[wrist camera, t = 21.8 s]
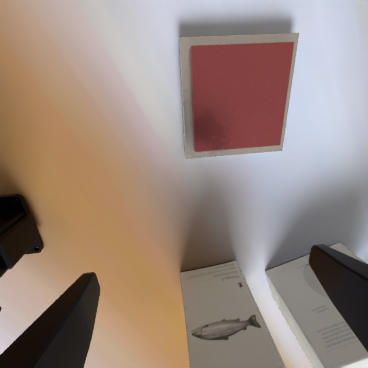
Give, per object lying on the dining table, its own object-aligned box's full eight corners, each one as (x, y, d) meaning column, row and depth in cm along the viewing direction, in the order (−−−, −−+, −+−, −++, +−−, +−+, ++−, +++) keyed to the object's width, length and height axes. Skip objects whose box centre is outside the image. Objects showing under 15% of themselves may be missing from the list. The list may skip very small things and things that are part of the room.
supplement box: (237, 257, 24) (306, 400, 13) (240, 298, 27) (298, 443, 16) (178, 270, 24) (194, 427, 12) (187, 309, 27) (208, 466, 15)
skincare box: (273, 300, 28) (331, 402, 19) (263, 270, 26) (325, 371, 16) (343, 274, 28) (440, 366, 18) (341, 240, 25) (453, 327, 16)
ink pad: (185, 155, 19) (187, 160, 17) (178, 40, 15) (180, 33, 13) (276, 148, 19) (286, 152, 18) (290, 36, 16) (305, 29, 14)
